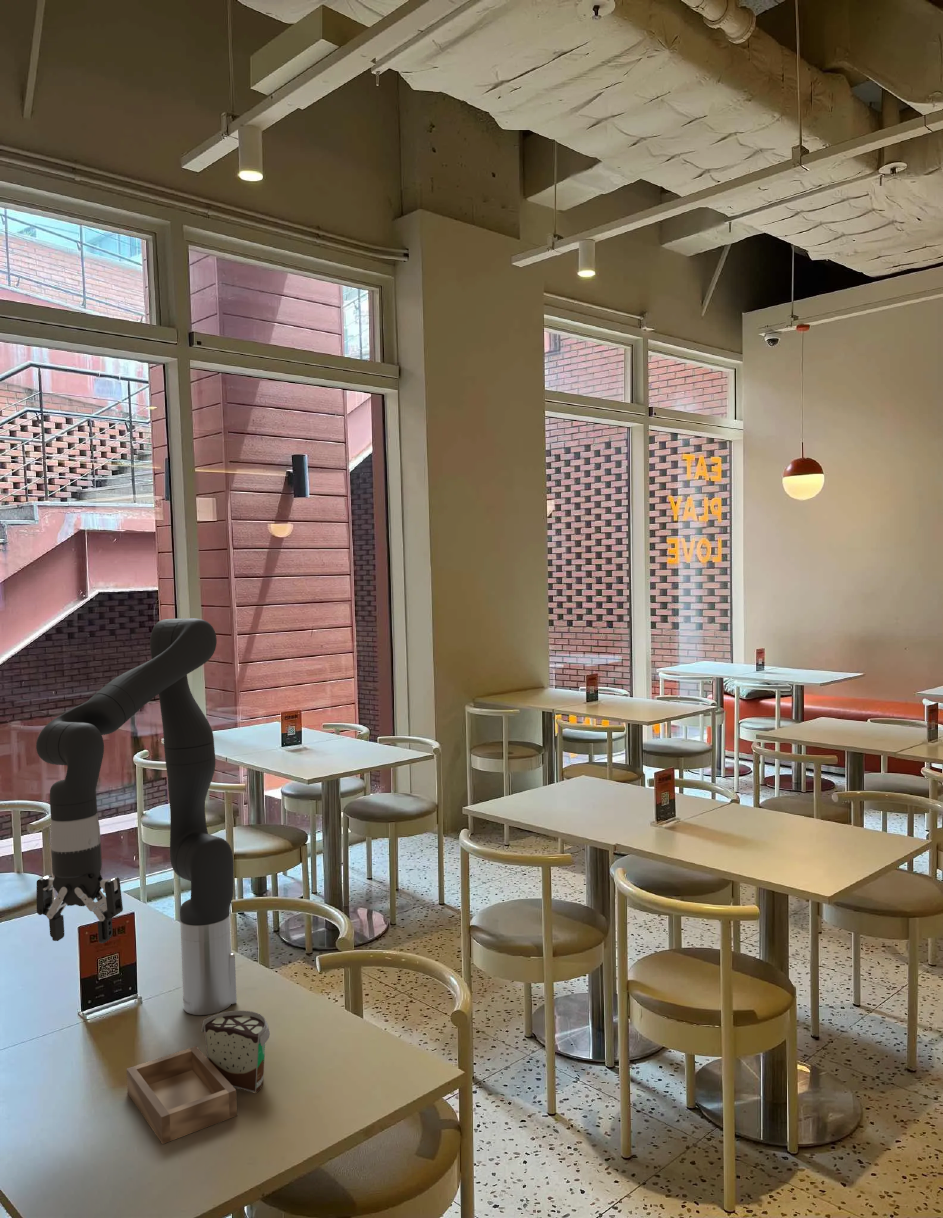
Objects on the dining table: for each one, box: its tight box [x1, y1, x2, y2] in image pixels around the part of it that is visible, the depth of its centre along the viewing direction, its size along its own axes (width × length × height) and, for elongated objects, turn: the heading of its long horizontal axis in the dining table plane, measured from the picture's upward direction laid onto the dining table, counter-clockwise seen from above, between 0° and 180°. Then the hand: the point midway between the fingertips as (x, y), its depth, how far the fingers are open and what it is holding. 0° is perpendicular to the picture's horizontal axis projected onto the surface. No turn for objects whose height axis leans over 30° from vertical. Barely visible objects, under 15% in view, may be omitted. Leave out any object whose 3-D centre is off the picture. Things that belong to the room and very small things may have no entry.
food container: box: [200, 1010, 271, 1093], centre depth 152 cm, size 12×6×10 cm, turn 65°
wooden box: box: [126, 1045, 238, 1145], centre depth 145 cm, size 11×17×4 cm, turn 36°
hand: (81, 940), depth 152 cm, fingers open, 8 cm apart
